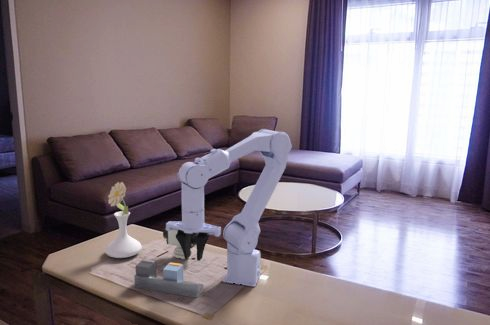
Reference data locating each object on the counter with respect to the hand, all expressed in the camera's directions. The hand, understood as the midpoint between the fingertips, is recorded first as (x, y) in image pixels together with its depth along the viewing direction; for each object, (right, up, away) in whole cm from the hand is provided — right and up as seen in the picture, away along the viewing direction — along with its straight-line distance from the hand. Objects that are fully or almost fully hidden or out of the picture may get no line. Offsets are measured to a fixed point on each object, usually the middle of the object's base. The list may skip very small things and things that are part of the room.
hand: (193, 258), depth 94 cm
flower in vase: (-26, -5, +22) cm, 34 cm away
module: (-6, -8, +3) cm, 10 cm away
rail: (-7, -9, +2) cm, 12 cm away
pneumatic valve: (-6, -5, +22) cm, 23 cm away
